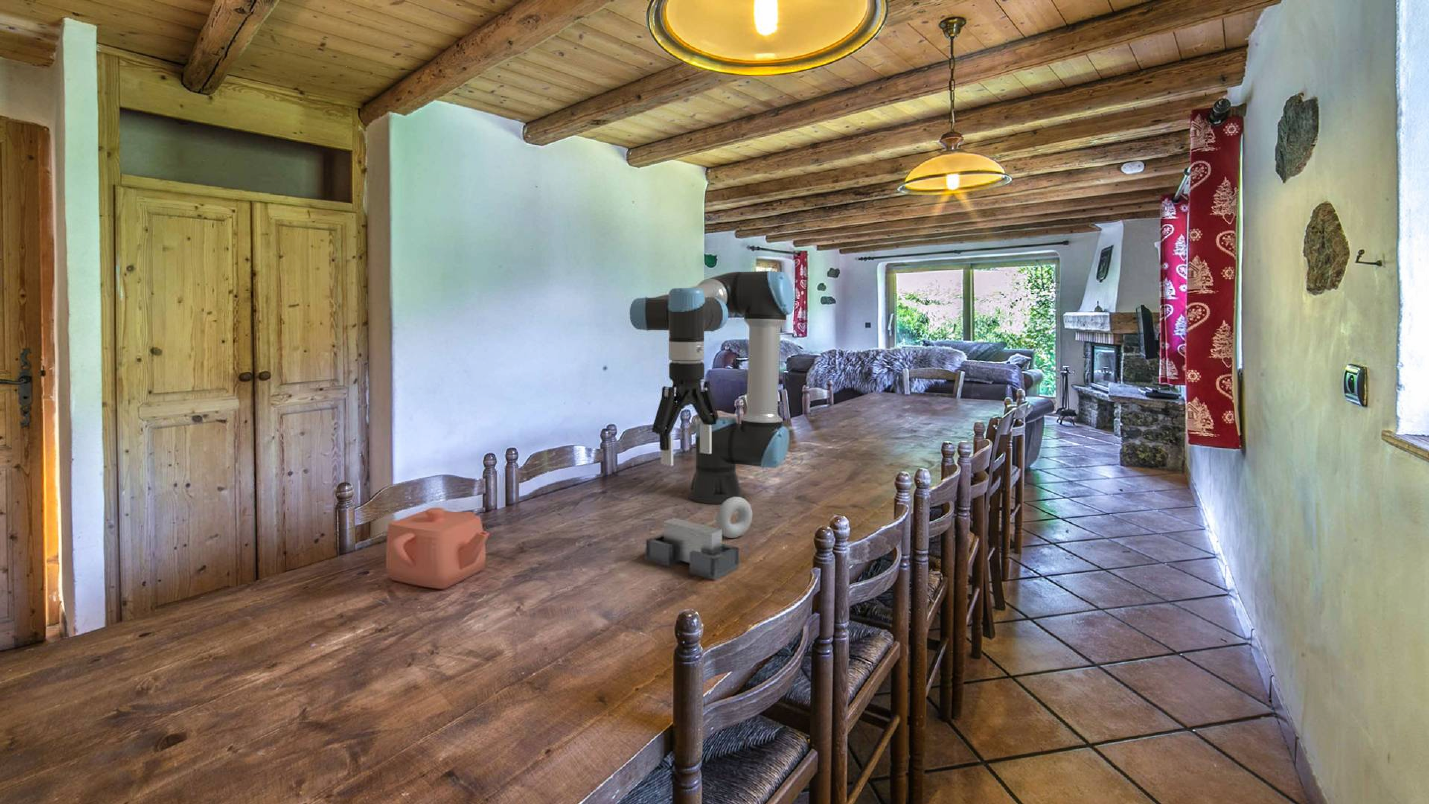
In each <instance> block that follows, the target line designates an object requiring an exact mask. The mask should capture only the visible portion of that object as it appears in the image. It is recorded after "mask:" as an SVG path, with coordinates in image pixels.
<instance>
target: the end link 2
mask: <svg viewBox="0 0 1429 804" xmlns="http://www.w3.org/2000/svg"><path fill="white" fill-rule="evenodd" d="M739 548H740V547H737V546H732V545H729V544H725V543H722V553H720V554H718V555H716V556H711V555H708V554H704V553H700V552H697V551H691V552H690V563H689V574H691V575H694V576H697V577H701V578H704V579H708V580H711V581H713V582H714V581H717V580H718V579H721V578H723V577H724V576H727V575H728V574H731V573H733V572H735V571H737V570H738V569H739V556H740V555H739V554H740V553H739V550H740V549H739Z"/></svg>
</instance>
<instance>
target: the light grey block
mask: <svg viewBox="0 0 1429 804" xmlns="http://www.w3.org/2000/svg"><path fill="white" fill-rule="evenodd" d="M663 534H664V543H668V544H671V545H673V558H675V559H678V560H682V561H681V562H685V563H689V564H690V552H691V551H697V552H700V553H704V554H708V555H711V556H716V555H718V554H720V553H722V544H723V534H722V530H721V529H718V527H717V528H716V527H713V526H709V525H705V524H700V523H696V522H692V521H688V520H684V519H681V518H675V517H673V518H671V519H667V520H664V521H663Z"/></svg>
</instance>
